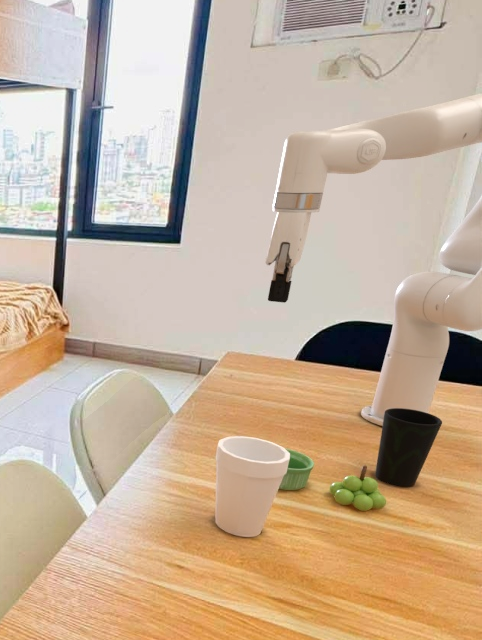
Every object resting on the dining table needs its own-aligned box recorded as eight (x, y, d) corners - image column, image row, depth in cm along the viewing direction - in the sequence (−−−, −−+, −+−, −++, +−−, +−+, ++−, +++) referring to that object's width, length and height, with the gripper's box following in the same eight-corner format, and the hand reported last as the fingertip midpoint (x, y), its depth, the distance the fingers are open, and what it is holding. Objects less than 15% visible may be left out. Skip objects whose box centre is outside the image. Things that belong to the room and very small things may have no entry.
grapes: (323, 488, 107) (332, 453, 105) (371, 494, 105) (381, 458, 103) (338, 510, 100) (348, 473, 98) (389, 517, 98) (401, 479, 96)
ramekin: (275, 465, 116) (280, 443, 114) (321, 486, 108) (327, 463, 106) (238, 473, 113) (242, 451, 111) (283, 496, 105) (288, 473, 103)
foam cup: (266, 515, 99) (283, 440, 95) (279, 547, 91) (297, 467, 86) (201, 506, 102) (213, 433, 98) (207, 536, 94) (221, 458, 89)
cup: (432, 492, 105) (453, 426, 101) (381, 488, 107) (399, 423, 103) (407, 471, 112) (425, 409, 108) (359, 468, 114) (376, 406, 110)
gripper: (279, 200, 124) (262, 292, 130) (267, 204, 112) (248, 305, 119) (324, 201, 119) (304, 296, 126) (316, 206, 108) (294, 310, 114)
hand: (277, 300), depth 122 cm, fingers closed
